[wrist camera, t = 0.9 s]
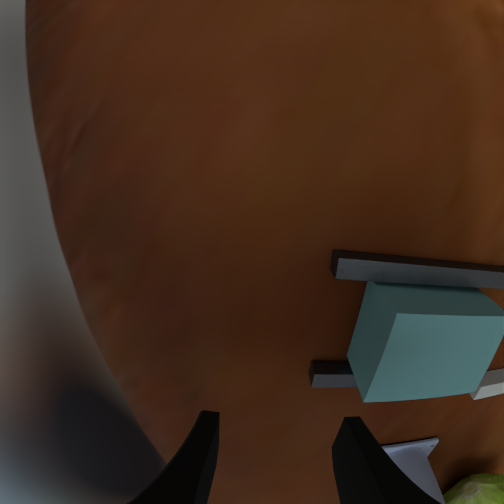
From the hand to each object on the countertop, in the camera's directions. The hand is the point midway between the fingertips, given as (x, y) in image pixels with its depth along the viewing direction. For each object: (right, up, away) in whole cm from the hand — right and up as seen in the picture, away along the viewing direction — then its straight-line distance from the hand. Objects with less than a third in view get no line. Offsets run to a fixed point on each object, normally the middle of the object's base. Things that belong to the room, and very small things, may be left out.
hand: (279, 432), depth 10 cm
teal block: (+10, +2, +9) cm, 14 cm away
